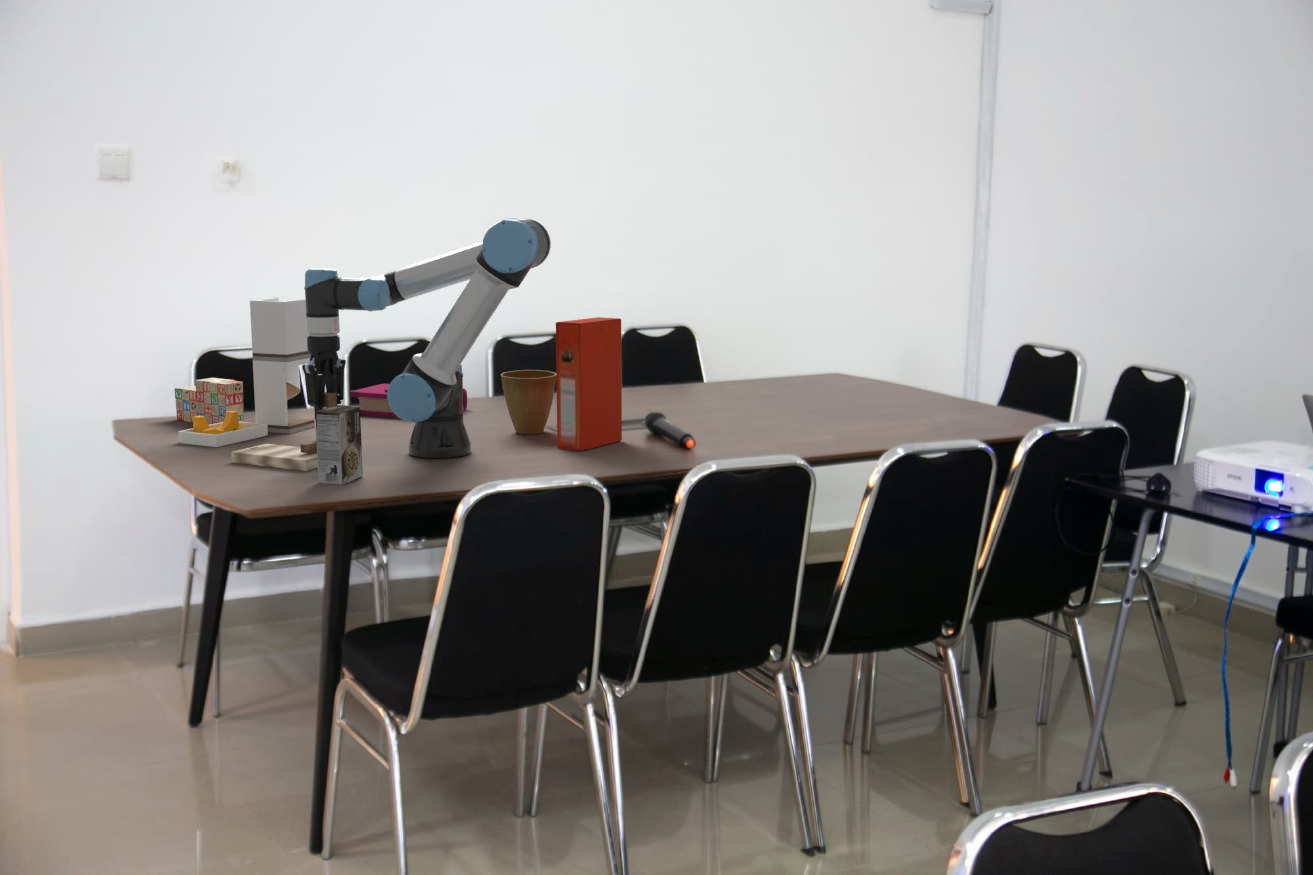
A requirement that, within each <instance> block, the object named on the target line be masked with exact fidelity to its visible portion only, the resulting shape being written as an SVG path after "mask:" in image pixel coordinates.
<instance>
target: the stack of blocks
mask: <svg viewBox="0 0 1313 875" xmlns="http://www.w3.org/2000/svg"><path fill="white" fill-rule="evenodd" d="M243 382H244V381H238V380H235V379H228V378H226V379H225V378H219V377H208V378H202V379H201V378H200V379H196V380H195V383H194V384H195V385H187V386H180V387H175V388H174V398H175V410H176V420H177V421H184V422H189V423H193V416H205V418H206V422H207V424H208V425H211V424H216V423H221V422H224V420H225V416H226V412H227V411H237V412H238V417H239V421H240V422H245V415H244V389H243V388H244V384H243Z"/></svg>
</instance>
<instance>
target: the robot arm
mask: <svg viewBox="0 0 1313 875" xmlns="http://www.w3.org/2000/svg"><path fill="white" fill-rule="evenodd" d="M551 244H552V243H551V237H550V235H549V232H548V230H547V229H546V227H545V226H544V225H542V224H541V223H540V222H539V221H536V220H534V219H532V218H505V219H501V220H500V221H498V222H496V223H494V224H493V225H491V226H490V227H489V228H488V230H487V231H486V232H485V233H484V236H483V238H482V241H481V242H478V243H475V244H472V245H468V246H466V247H463V248H459V249H457V250H454V251H450V252H447V253H444V254H441V255H438V256H435V257H432V258H428V259H426V260H423V261H420V262H416V263H413V264H411V265H407V266H404V267H402V268H398V269H395V270H392V271H389V272H385V273H383V274H380V275H374V276H373V275H372V276H367V277H339V274H338V271H337V269H335V268H326V267H325V268H320V267H319V268H308V269H307V270H306V271H305V274H304V288H303V290H304V299H306V317H307V333H308V334H310V335H309V336H308V337H307V349H308V351H310V352H311V357H310V362H309V363H307V364H302V365H301V366H302V367H301V370H302V371H303V374H304V382H305V383H304V384H305V390H306V391H305V392H306V401H307V405H308V406H310V407H313V408H314V412H315V411H319V410H322V409H325V408H327V407H323V406H324V397H325V392H331V393H336V396H337V405H342V402H343V400H344V394H345V392H344V390H345V368H346V367H345V366H346V364H347V360H346V359H341V358H340V357H339V355H338V352H339V351H340V350H341V337H340V335H338V334H339V333H340V310H341V311H344V310H346V311H349V310H350V311H365V312H366V311H367V312H373V311H374V312H375V311H384V310H385V309H386V308H387V307H390V306H394V305H396V304H398V303H401V302H403V301H406V300H408V299H412V298H415V297H418V296H421V295H426V294H427V293H431V292H435V291H438V290H441V289H443V288H447V287H451V286H453V285H458V284H460V283H464V282H466V281H468V282H467V284H466V286H465V287H464V289H463V290H462V291H461V293H460V294H459V297H458V298H457V299H456V300H455V302H454V304H453V306H452V308H450V309H449V312H448V313H447V315H446V316H445V318H444V320H443V321H442V323H441V325H440V326H439V328H438V329H437V331H436V332H435V334H434V335H433V337H432V339H430V342H429V343H428V344H427V346H426V348H425V350H424V351H423V352H421V353H416V354H413V356H412V357H411V360H409V362H408V364H407V365H406V366H405V369H404V370H403V372H401V373H400V374H398V375H396V376H395V377H394V378H393V380H391V382H389V384H390V385H389V387H388V391H387V399H388V403H389V406H390V408H391V410H392V411H393V412H394V413H395V415H397V416H398V417H399V419H400V420H403V421H405V422H409V423H414V426H413V429H412V433H411V437H410V439H409V443H408V455H410V456H413V457H418V458H424V459H425V458H426V459H428V458H429V459H449V458H456V457H461V456H467V455H470V453H471V452H472V449H471V448H472V444H471V440H470V438H469V434H468V432H467V428H466V425H465V423H464V411H463V388H464V385H463V377H464V373H463V365H462V362H463V361H464V360H465V358H466V357H467V355H468V353H470V350H471V349H472V347H473V345H474V344H475V342H476V341H477V340H478V338H479V336H480V335H481V333H482V332H483V330H484V329H485V328H486V325H488V322H489V321H490V320H491V317H492V316H493V315H494V313H495V312H496V310H497V308H498V307H499V305H500V304H501V303H502V301H503V299H504V298H505V296H506V295H507V294H508V291H510V290H512V289H517V288H519V287H520V286H521V284H522V283H523V281H524V279H525V278H526V277H527V275H528V273H529V272H530V270H531V269H534V268H536V267H538V266H540V265H542V264H543V263H544V262H545V261H546V259H547V258H548V256H549V254H550V250H551V248H552V245H551ZM314 421H316V416H315V415H314Z"/></svg>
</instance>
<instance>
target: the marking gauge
mask: <svg viewBox="0 0 1313 875" xmlns="http://www.w3.org/2000/svg"><path fill="white" fill-rule="evenodd" d="M335 405H338V404H337V396H336V393H331V392H326V391H325V397H324V406H323V407H327V408H328V407H332V406H335ZM315 439H316V438H315ZM315 439H314V440H312V441H308V442H307V441H306V442H303V443H300V445H299V447H300V448H301V453H311V452H314V451H317V439H316V440H315Z"/></svg>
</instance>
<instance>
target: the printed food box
mask: <svg viewBox="0 0 1313 875" xmlns="http://www.w3.org/2000/svg"><path fill="white" fill-rule="evenodd" d="M315 416H316V420H315V432H316V433H315V436H316V437H315V439H317V464H318V468H317V480H318V481H317V482H318V484H319V483H320V484H329V485H341V486H342V485H343V486H344V485H345V484H347V483H350V482H351V481H352V482H353V481H354V480H357V479H359V478H362V477H363V476H364V473H363V472H364V471H363V468H364V466H363V446H362V426H361V425H362V423H361V422H362V421H361V415H360V407H359V406H352V405H343V404H337V405H335V406H332V407H328V408H325V409H322V410H319V411H315V410H314V417H315Z"/></svg>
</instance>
